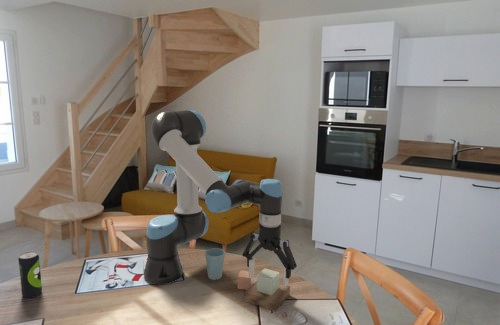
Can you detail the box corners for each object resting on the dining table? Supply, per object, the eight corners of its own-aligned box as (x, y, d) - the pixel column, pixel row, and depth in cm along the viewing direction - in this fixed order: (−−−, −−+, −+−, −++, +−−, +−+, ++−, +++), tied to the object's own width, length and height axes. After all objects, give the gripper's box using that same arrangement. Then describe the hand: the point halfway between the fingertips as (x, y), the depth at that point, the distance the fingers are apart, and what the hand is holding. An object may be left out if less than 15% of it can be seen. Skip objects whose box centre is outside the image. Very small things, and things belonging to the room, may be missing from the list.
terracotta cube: (237, 288, 140) (237, 276, 140) (240, 282, 145) (240, 270, 144) (250, 290, 140) (250, 278, 139) (252, 283, 145) (253, 271, 144)
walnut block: (244, 302, 132) (244, 291, 132) (260, 287, 143) (260, 277, 142) (275, 312, 127) (275, 301, 126) (289, 296, 137) (289, 286, 136)
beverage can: (19, 293, 134) (15, 254, 131) (38, 287, 138) (35, 249, 135) (25, 300, 129) (21, 260, 127) (44, 293, 134) (41, 254, 131)
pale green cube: (256, 290, 133) (256, 275, 132) (264, 283, 138) (264, 268, 137) (271, 295, 130) (272, 279, 129) (279, 287, 135) (279, 272, 134)
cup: (223, 271, 154) (223, 247, 152) (225, 280, 146) (226, 255, 144) (205, 272, 152) (204, 248, 150) (206, 282, 145) (206, 256, 143)
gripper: (233, 220, 132) (232, 275, 136) (299, 234, 120) (296, 295, 124) (244, 214, 139) (243, 267, 143) (308, 227, 127) (304, 285, 131)
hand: (268, 280), depth 133 cm, fingers open, 13 cm apart
